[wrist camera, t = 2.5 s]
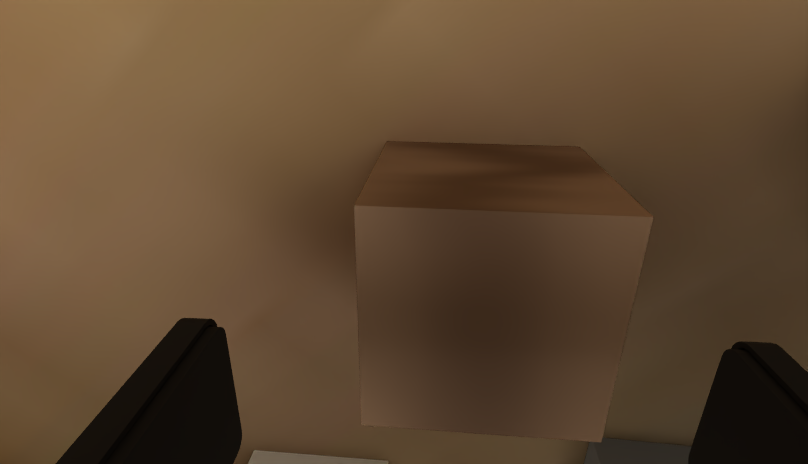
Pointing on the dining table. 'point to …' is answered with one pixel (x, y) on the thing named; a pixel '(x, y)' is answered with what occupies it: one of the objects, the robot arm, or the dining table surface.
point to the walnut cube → (494, 289)
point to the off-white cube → (305, 459)
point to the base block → (635, 452)
